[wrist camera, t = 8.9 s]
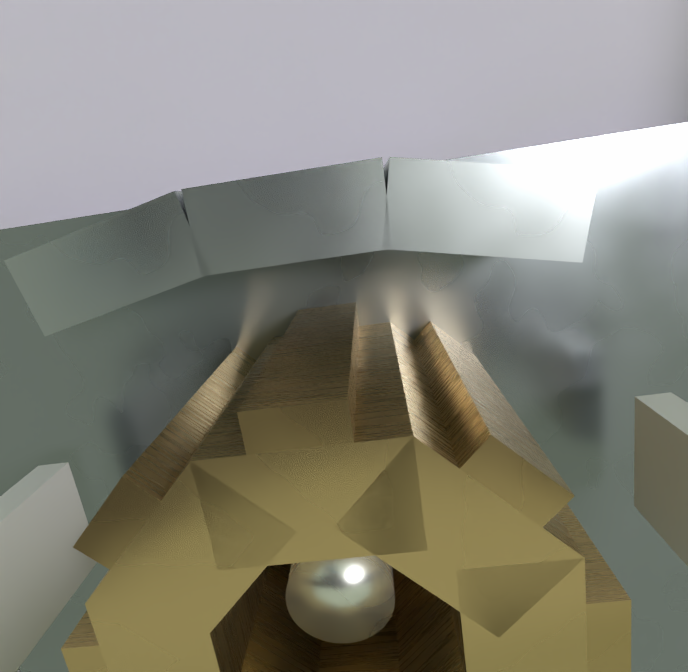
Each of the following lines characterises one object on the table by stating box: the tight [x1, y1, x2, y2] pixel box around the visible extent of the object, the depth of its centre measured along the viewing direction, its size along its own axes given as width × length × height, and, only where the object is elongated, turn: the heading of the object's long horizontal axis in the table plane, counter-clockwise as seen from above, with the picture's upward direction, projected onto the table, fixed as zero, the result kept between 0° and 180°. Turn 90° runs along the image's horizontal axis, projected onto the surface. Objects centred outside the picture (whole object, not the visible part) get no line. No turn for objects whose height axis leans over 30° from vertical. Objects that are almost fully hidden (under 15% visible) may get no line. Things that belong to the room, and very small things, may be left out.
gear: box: [61, 302, 631, 672], centre depth 10 cm, size 8×8×6 cm
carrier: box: [0, 122, 688, 672], centre depth 12 cm, size 21×21×6 cm
